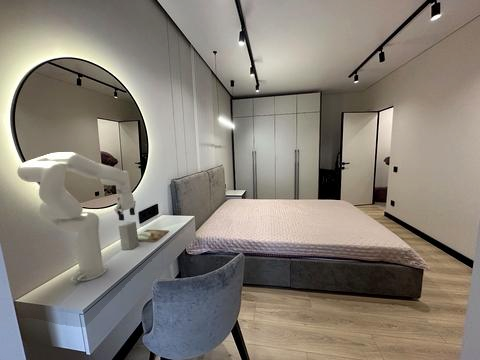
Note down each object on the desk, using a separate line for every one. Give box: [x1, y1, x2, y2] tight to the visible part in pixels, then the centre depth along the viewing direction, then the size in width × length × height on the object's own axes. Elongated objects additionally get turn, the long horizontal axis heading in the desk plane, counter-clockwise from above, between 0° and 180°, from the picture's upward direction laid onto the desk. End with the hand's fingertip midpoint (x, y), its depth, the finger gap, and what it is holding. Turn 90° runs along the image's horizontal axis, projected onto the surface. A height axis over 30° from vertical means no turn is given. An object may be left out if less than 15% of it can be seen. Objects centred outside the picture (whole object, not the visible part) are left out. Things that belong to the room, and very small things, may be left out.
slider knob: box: [150, 231, 158, 239], centre depth 141 cm, size 3×3×4 cm
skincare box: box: [118, 221, 140, 251], centre depth 131 cm, size 8×7×16 cm
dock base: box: [138, 229, 170, 243], centre depth 148 cm, size 18×18×1 cm
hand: (127, 217), depth 130 cm, fingers open, 9 cm apart
